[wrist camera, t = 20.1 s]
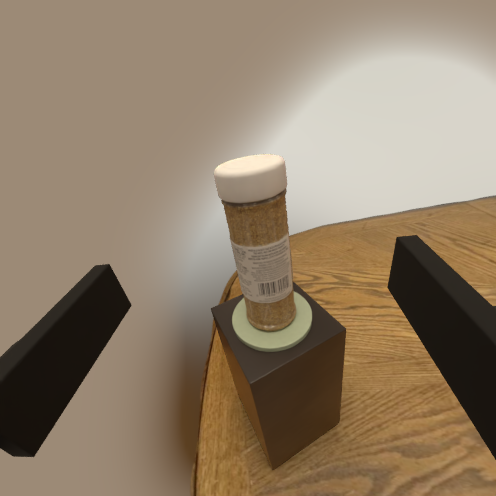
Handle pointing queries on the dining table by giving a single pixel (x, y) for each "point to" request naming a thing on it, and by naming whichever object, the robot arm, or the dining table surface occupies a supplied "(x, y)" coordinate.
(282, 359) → the riser
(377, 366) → the dining table surface
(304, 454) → the dining table surface
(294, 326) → the coaster
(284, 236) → the sprinkles bottle
